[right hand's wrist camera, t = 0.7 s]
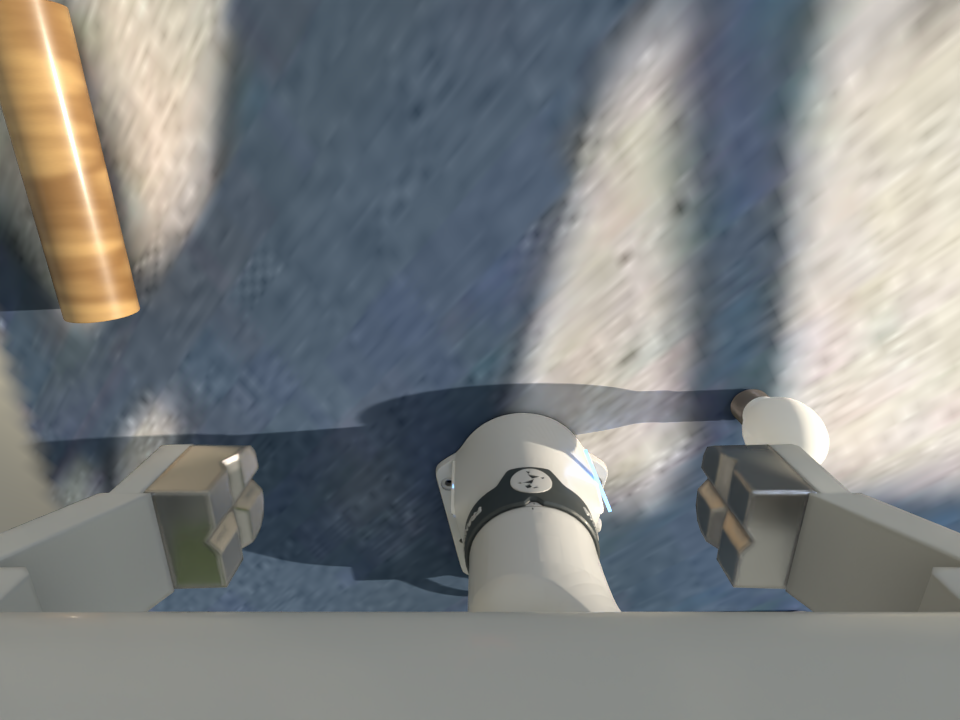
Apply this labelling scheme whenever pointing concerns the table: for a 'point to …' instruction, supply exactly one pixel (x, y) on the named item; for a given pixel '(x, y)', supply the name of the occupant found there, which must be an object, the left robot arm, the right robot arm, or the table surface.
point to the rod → (63, 161)
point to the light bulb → (780, 423)
